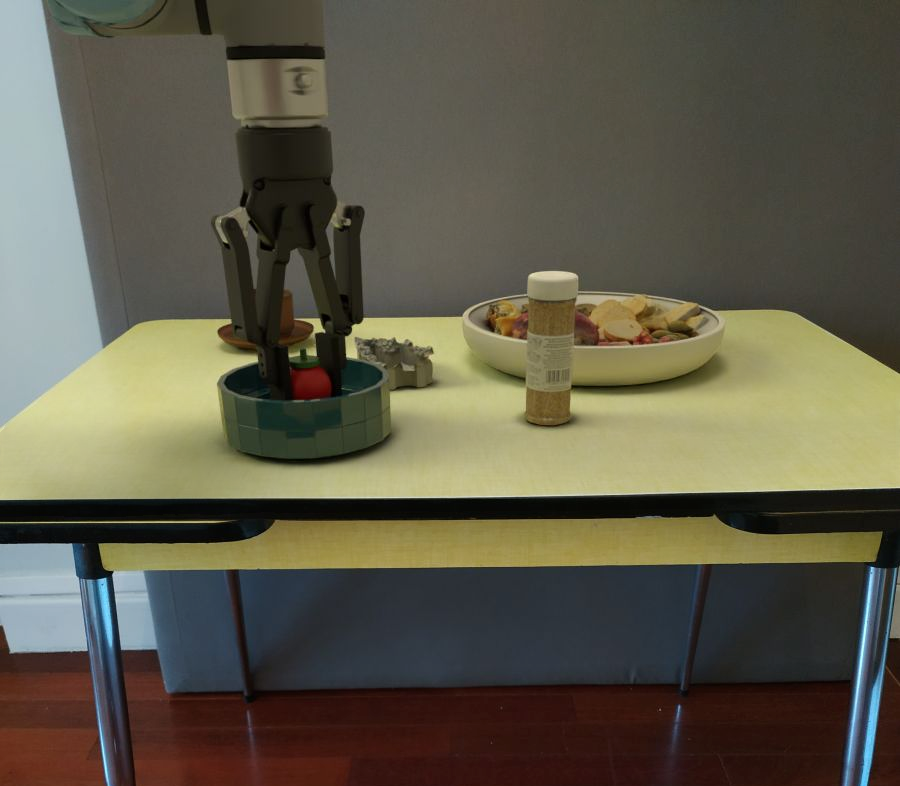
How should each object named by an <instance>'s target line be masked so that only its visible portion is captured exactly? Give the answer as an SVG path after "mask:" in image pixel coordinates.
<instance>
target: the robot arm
mask: <svg viewBox="0 0 900 786" xmlns="http://www.w3.org/2000/svg"><path fill="white" fill-rule="evenodd" d="M45 3H46V5H47V8H48V11H49V12H50V14H51V15H52V18H53V21H54V23H55V24H56V26H57V27H58V28H59V29H60V30H62V31H63V32H64V33H66V34H69V35H75V36H76V35H77V36H93V37H94V38H95V37H96V38H104V39H105V40H108V39H113V38H115V37H155V36H189V35H191V36H193V35H202V36H213V35H221V36H223V40H224V44H225V55H226V64H227V73H228V75H227V76H228V83H229V92H230V100H231V101H230V102H231V103H230V104H231V113H232V117H233V118H234V119H235V120H238V121H239V120H240V125H241V127H238V128H237V129H236V131H237V132H234V138H235V144H236V145H235V146H236V156H237V164H238V173H239V176H240V180H241V183H242V191H241V196H240V198H239V203H238V207H236V208H235V209H233V210H231V211H230V212H228V213H226V214H225V215H219V214H215V215H214V216H212V217H211V219H210V226H211V228H212V230H213V233H214V236H215V237H216V239H217V242H218V243H219V246H220V249H221V257H222V264H223V272H224V279H225V285H226V292H227V301H228V307H229V315H230V322H231V323H232V330H233V335H234V336H235V337H236V338H238V339H240V340H243V341H246V342H249V343H251V344H255V346H256V349H255V350H256V357H257V362H258V364H259V374H260V378H261V380H262V382H265V383H267V384H269V390H270V399H271V400H293V395H292V385H291V375H290V364H289V357H290V356H289V346H285V345H282V344H279V335H280V325H281V314H282V303H283V293H284V289H285V282H286V281H285V280H286V272H287V265H288V264H289V263H290V260H291V252H293V251H294V250H296V249H297V252H298V254H299V255H300V257H301V258H302V260H303V263H304V267H305V271H306V275H307V278H308V281H309V282H308V283H309V285H310V289H311V292H312V297H313V300H314V303H315V307H316V310H317V314H318V318H319V321H320V324H321V327H322V329H323V330H324V332H323V331H320V332H319V331H318V332H315V333H314V341H315V352H316V353H315V355H316V356H317V357H319V359H320V364H319V366H320V367H322V368H323V369H324V370H325V371H326V373H327V374H328V376H329V378H330V381H331V385H332V392H331V396H330V398H331V397H338V396H342V382H341V370H342V369H345V368H346V364H347V357H348V356H347V345H346V337H349V336H350V335H352V332H353V326H354V325H360V324H362V323H363V321H364V319H365V317H364V315H365V314H364V295H363V294H364V293H363V273H362V271H363V270H362V269H363V268H362V251H361V250H362V248H361V232H362V228H363V223H364V219H365V213H366V212H365V211H366V210H365V208H364V207H363V206H361V205H359V204H352V203H346V202H344V201H342V200H339V199H338V197H337V194H336V191H335V190H334V187H333V185H332V175H333V173H334V161H333V159H334V158H333V147H332V145H333V143H332V132H331V130H329V127H328V126H323V120H322V119H327V117H329V115H330V110H329V109H330V108H329V95H328V79H327V63H326V49H325V47H326V45H325V44H326V43H325V27H324V26H325V25H324V12H323V11H324V10H323V8H324V7H323V0H45ZM330 223H331V224H332V226H333V232H332V233H333V235H332V237H333V239H332V241H333V259H334V269H333V265H332V262H331V255H332V249H331V245H330V242H329V238H328V234H327V228H328V226H329V224H330ZM248 224H249V226H250V227H251V229H252V230H253V231H254V232H255V234H256V235H257V239H256V240H257V241H256V257H257V261H258V264H257V277H256V288H255V287H254V279H253V273H252V272H253V271H252V265H251V255H250V249H249V245H248V242H247V240H246V239H247V238H248V236H249V234H250V233H249V230H248ZM254 289H256V299H255V295H254ZM231 323H230V324H231Z"/></svg>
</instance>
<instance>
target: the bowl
mask: <svg viewBox="0 0 900 786" xmlns="http://www.w3.org/2000/svg"><path fill="white" fill-rule="evenodd" d="M576 298H577V301H576V303H575V324H574V346H573V369H572V383H571V386H584V387H587V386H588V387H614V386H615V387H616V386H617V387H619V386H633V385H634V386H635V385H643V384H650V383H657V382H661V381H667V380H671V379H675V378H678V377H681V376H685V375H687V374H689V373H691V372H694V371H695V370H697V369H699V368H700V367H702V366H704V365H705V364H706V363H707V362H708V361H709V360H711V358H713V356H714V355H715V353H716V352H717V351H718V350H719V348H720V346H721V344H722V342H723V339H724V335H725V330H726V320H725V318H724V317H723V316H722V315H721V314H720V313H718V312H717V311H715V310H712V309H710V308H708V307H705V306H703V305H700V304H699V303H697V302H695V303H694V302H692V301H684V300H679V299H674V298H669V297H663V296H656V295H647V294H646V293H644V294H638V293H628V292H627V293H626V292H611V291H578V296H577V297H576ZM528 316H529V301H528V296H527V293H524V294H518V295H517V294H516V295H509V296H505V297H504V296H503V297H499V298H493V299H490V300H487V301H482V302H480V303H478V304H475V305H472V306H471V307H469V308H467V309H466V310H465V311H464V313H463V314H462V318H461V328H462V334H463V337H464V340H465V343H466V344H467V347H468V349H470V351H471V352H472V353H473V355H475V357H476V358H478V359H479V360H480V361H481V362H482V363H484V364H485V365H487V366H489V367H491V368H492V369H495V370H497V371H500V372H502V373H504V374H507V375H511V376H514V377H518V378H523V379H526V366H527V332H528Z"/></svg>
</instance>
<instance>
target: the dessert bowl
mask: <svg viewBox="0 0 900 786" xmlns="http://www.w3.org/2000/svg"><path fill="white" fill-rule="evenodd" d="M291 357H292V356H289V358H291ZM346 357H347V364H346V368H345V369H342V370H341V382H342V396H338V397H331V398H322V399H314V400H271V399H270V390H269V384H267V383H265V382H262V380H261V378H260V374H259V364H258V361H254V362H251V363H246V364H244V365H241V366H238V367H235V368H232V369H230V370H229V371H226V372H225V373H223V374H222V375H220V377H219V378H218V380H217V382H216V387H217V388H216V389H217V395H218V403H219V410H220V417H221V418H220V419H221V426H222V433H223V437H224V439H225V441H226V443H227V444H228V446H231V447H232V448H234V449H236V450H238V451H240V452H243V453H246V454H251V455H255V456H259V457H264V458H265V457H266V458H276V459H284V460H313V459H314V460H315V459H324V458H331V457H336V456H340V455H345V454H348V453H352V452H356V451H359V450H363V449H366V448H369V447H371V446H373V445H376V444H378V443H379V442H381V441H383V440H385V438H386V437H387V436H388V435H389V434H390V433H391V432H392V412H391V411H392V410H391V390H390V384H389V371H387V370H386V369H385V368H383V367H382V366H381V365H378V364H375V363H372V362H369V361H366V360H361V359H357V358H355V357H348V356H346Z"/></svg>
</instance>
